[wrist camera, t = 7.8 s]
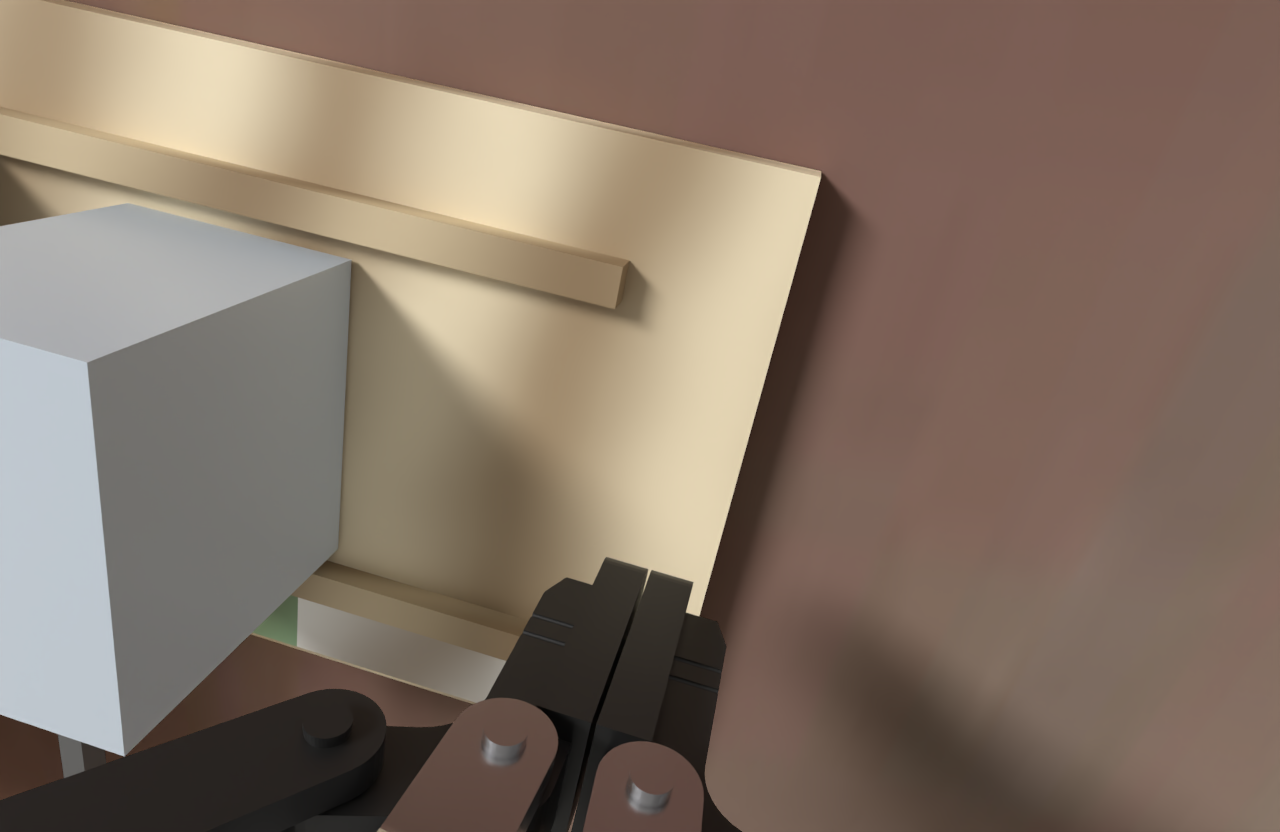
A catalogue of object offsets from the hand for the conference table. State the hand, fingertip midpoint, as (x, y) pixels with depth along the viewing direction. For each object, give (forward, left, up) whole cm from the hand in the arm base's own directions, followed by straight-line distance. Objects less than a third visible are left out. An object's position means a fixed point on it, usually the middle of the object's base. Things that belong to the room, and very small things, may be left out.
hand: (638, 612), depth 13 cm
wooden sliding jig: (+9, 0, -5) cm, 10 cm away
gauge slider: (+11, +2, -4) cm, 12 cm away
